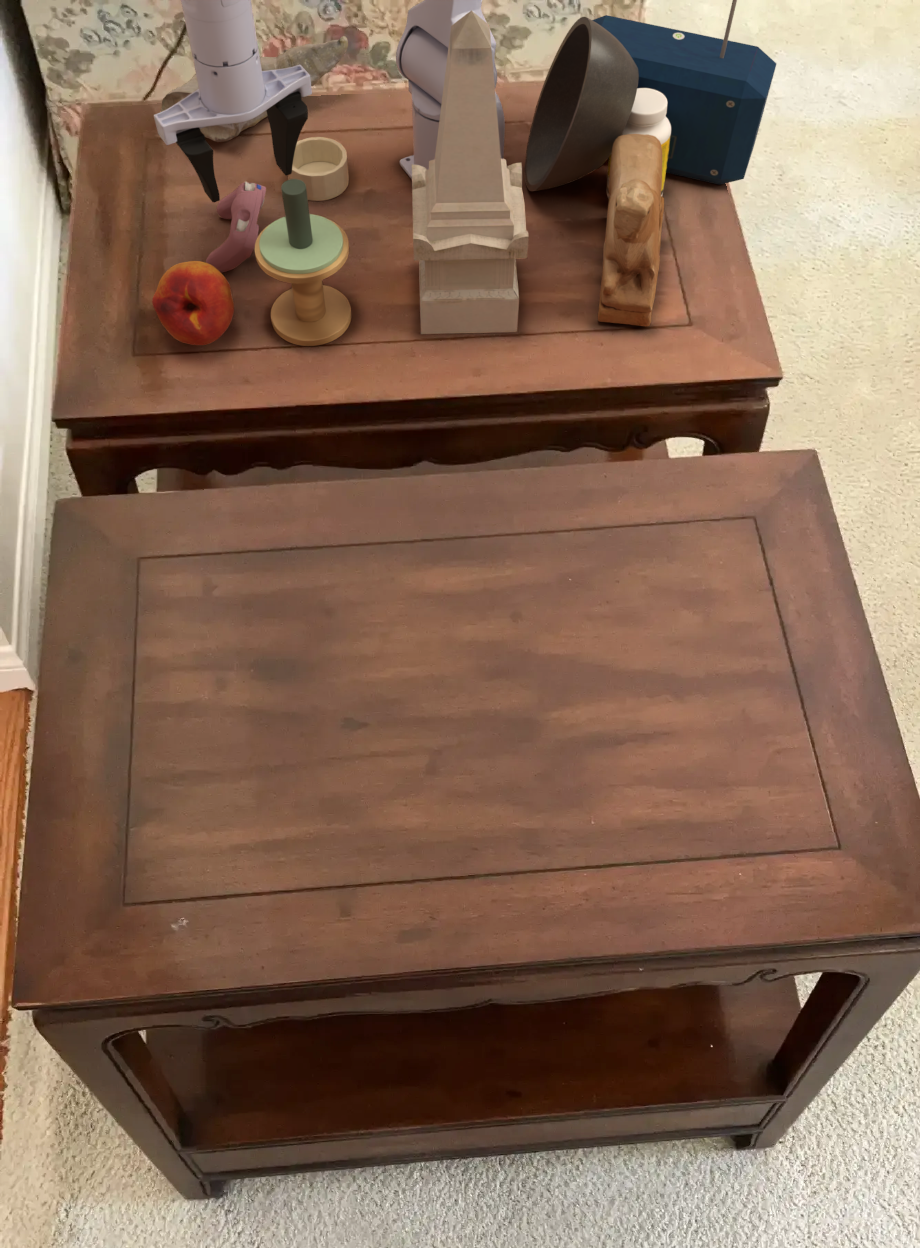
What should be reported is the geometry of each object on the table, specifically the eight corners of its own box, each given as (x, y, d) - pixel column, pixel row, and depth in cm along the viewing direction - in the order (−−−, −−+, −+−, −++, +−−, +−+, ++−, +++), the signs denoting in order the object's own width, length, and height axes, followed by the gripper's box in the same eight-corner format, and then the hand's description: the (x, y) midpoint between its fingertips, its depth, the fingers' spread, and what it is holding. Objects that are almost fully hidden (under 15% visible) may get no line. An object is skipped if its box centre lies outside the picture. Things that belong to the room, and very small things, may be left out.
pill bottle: (673, 200, 124) (687, 106, 115) (626, 219, 123) (636, 125, 114) (641, 170, 127) (652, 76, 118) (594, 188, 126) (602, 94, 117)
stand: (332, 276, 118) (324, 203, 111) (370, 330, 114) (364, 258, 107) (253, 304, 116) (239, 232, 108) (289, 360, 112) (277, 289, 104)
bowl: (655, 104, 106) (592, 94, 105) (578, 227, 127) (524, 220, 126) (653, -10, 108) (590, -22, 107) (577, 129, 130) (524, 121, 128)
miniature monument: (515, 262, 120) (532, -28, 94) (521, 335, 114) (541, 47, 88) (415, 264, 119) (404, -26, 94) (416, 337, 114) (406, 49, 88)
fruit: (147, 350, 113) (127, 287, 106) (183, 295, 117) (166, 231, 110) (220, 369, 111) (204, 307, 105) (254, 314, 115) (242, 250, 109)
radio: (753, 147, 130) (803, -33, 113) (739, 194, 125) (788, 15, 108) (575, 107, 133) (597, -73, 116) (555, 152, 128) (574, -29, 111)
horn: (244, 123, 120) (173, 49, 118) (217, 187, 130) (151, 119, 128) (354, 41, 128) (289, -29, 127) (321, 107, 139) (260, 43, 137)
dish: (333, 155, 129) (330, 129, 126) (359, 189, 126) (357, 163, 123) (279, 173, 127) (275, 147, 124) (304, 208, 124) (300, 182, 121)
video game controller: (244, 288, 119) (266, 240, 114) (202, 272, 118) (222, 222, 112) (255, 225, 125) (277, 176, 119) (214, 208, 123) (234, 158, 118)
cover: (321, 207, 110) (315, 148, 105) (357, 257, 107) (352, 198, 101) (246, 233, 108) (235, 174, 103) (280, 284, 105) (270, 226, 99)
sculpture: (590, 325, 115) (607, 200, 102) (603, 213, 123) (620, 85, 110) (654, 331, 114) (679, 206, 101) (661, 219, 123) (685, 91, 110)
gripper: (279, 0, 102) (296, 135, 114) (127, 49, 98) (161, 184, 110) (316, 39, 99) (330, 174, 111) (160, 92, 95) (192, 226, 107)
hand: (248, 182), depth 110 cm, fingers open, 7 cm apart
